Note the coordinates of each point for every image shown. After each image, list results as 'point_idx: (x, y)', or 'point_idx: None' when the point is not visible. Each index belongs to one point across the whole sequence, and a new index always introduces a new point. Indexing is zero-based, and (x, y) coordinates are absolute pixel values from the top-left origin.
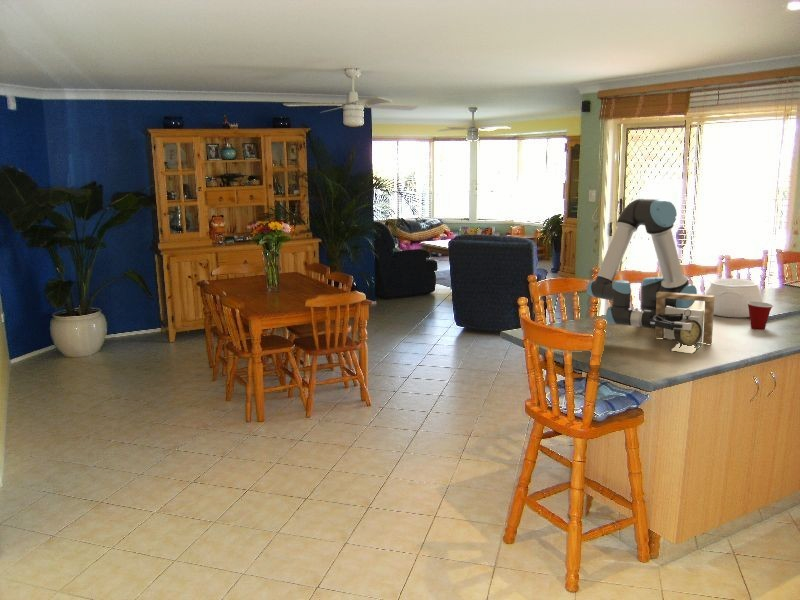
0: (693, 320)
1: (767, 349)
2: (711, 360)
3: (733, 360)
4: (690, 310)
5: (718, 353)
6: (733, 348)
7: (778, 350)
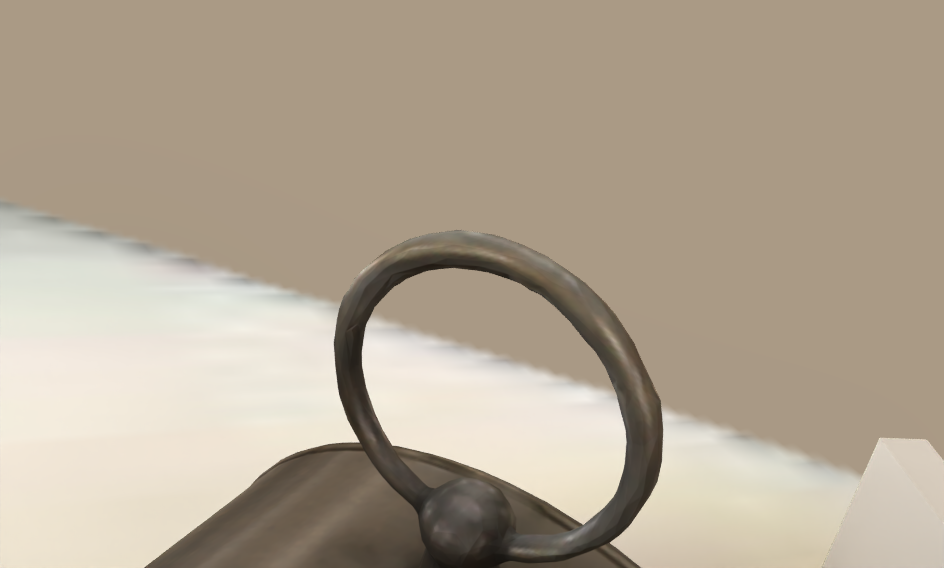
0: (452, 462)
1: (38, 261)
2: (778, 563)
3: (607, 413)
4: (389, 257)
5: None
6: (71, 454)
7: (56, 219)
